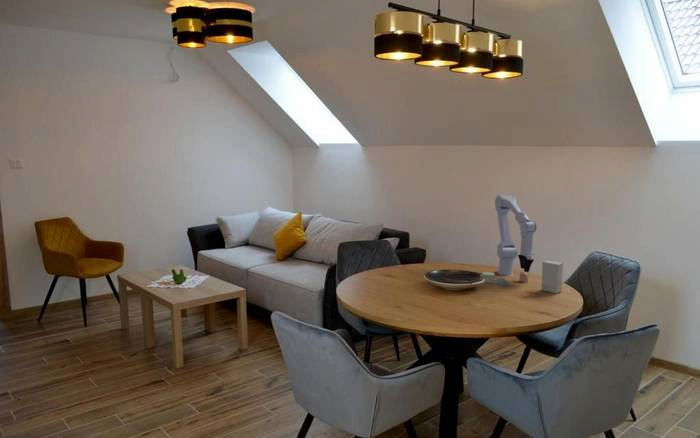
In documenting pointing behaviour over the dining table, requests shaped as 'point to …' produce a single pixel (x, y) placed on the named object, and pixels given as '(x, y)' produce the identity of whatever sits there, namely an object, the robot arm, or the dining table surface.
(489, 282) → the birch slab
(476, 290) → the dining table surface
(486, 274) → the sage slab
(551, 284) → the skincare box
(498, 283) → the charcoal mat
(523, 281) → the rounded pink dome
